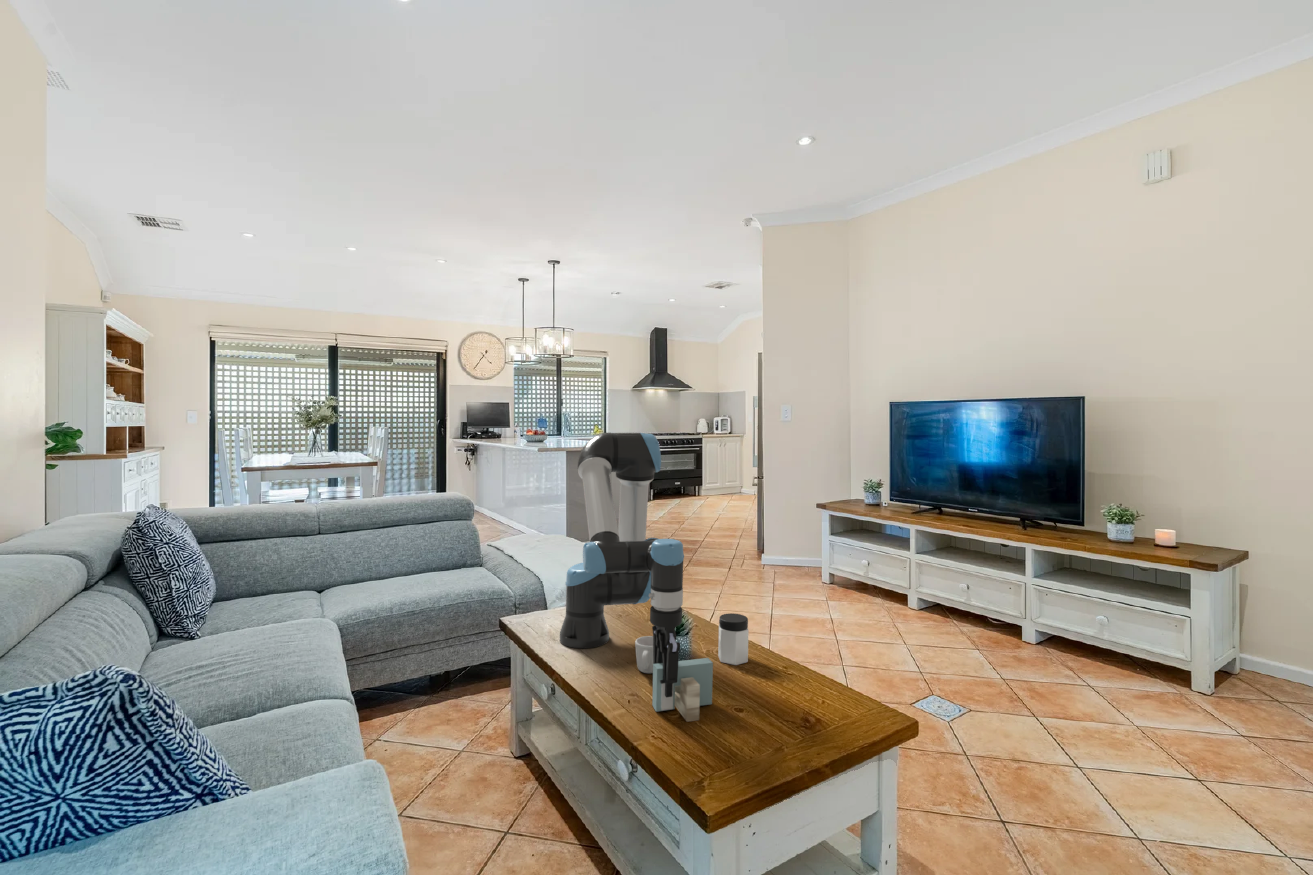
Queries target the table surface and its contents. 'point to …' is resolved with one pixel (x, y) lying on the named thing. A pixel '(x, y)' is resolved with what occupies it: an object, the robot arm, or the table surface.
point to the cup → (644, 654)
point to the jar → (733, 639)
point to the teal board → (686, 669)
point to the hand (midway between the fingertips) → (664, 704)
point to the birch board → (688, 699)
